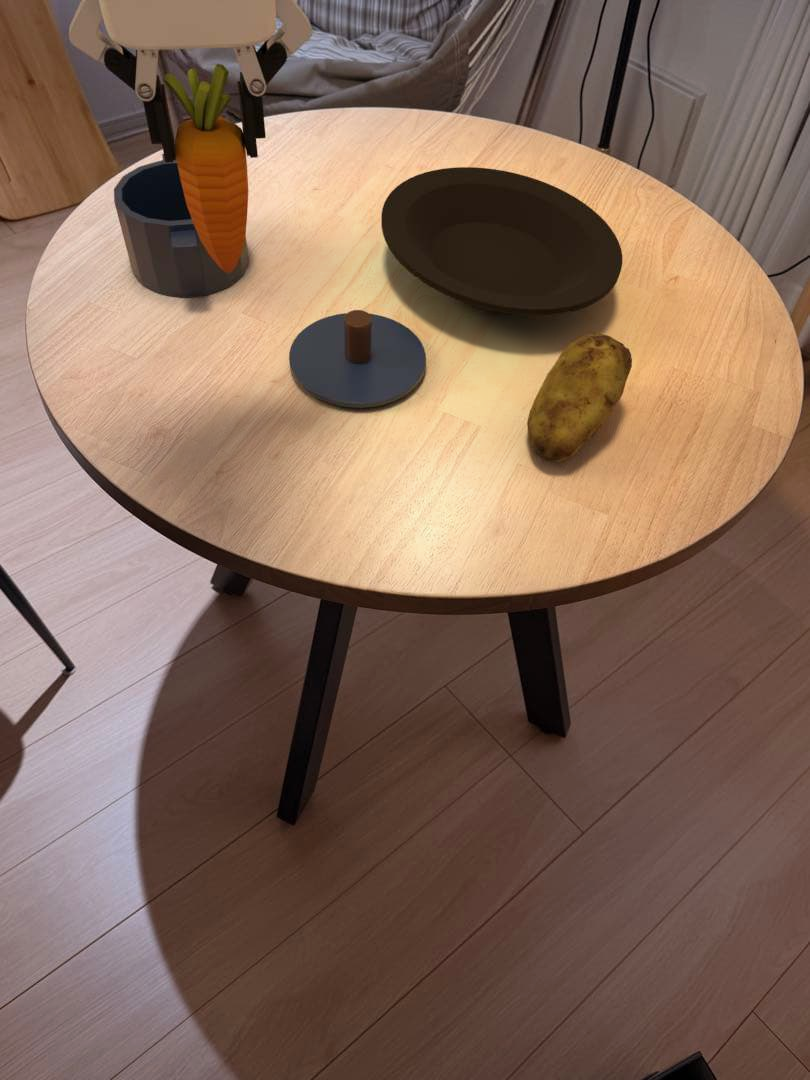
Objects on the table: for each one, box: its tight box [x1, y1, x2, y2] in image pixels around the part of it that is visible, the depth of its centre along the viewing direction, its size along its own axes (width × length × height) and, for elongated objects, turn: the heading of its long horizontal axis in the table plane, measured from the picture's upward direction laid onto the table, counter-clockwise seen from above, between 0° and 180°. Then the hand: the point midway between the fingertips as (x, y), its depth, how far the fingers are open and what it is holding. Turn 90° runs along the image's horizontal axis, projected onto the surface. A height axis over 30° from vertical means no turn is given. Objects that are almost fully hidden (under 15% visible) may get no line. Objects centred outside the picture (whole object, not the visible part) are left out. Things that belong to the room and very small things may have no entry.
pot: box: [113, 153, 249, 298], centre depth 85 cm, size 13×18×8 cm
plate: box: [380, 166, 623, 316], centre depth 87 cm, size 28×24×6 cm
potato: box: [526, 333, 633, 463], centre depth 72 cm, size 8×13×8 cm, turn 131°
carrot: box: [162, 63, 249, 273], centre depth 56 cm, size 5×5×15 cm
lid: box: [288, 309, 427, 409], centre depth 77 cm, size 14×14×6 cm
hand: (210, 147), depth 54 cm, fingers closed on carrot, 4 cm apart
